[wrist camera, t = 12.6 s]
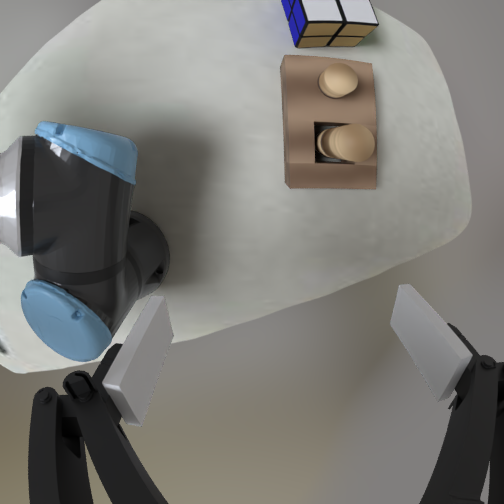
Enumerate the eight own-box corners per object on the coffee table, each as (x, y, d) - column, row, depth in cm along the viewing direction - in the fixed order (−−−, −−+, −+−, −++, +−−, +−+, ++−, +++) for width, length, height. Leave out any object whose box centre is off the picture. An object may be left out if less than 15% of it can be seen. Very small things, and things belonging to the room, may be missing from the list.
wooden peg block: (360, 183, 40) (388, 194, 30) (284, 182, 40) (294, 193, 31) (356, 73, 33) (384, 56, 24) (280, 67, 33) (288, 44, 24)
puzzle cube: (280, 0, 29) (287, -32, 19) (339, -1, 28) (358, -28, 19) (294, 48, 32) (306, 23, 23) (355, 47, 31) (380, 25, 22)
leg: (317, 160, 39) (349, 168, 26) (305, 137, 37) (332, 132, 24) (340, 150, 38) (380, 153, 25) (329, 126, 37) (364, 118, 24)
